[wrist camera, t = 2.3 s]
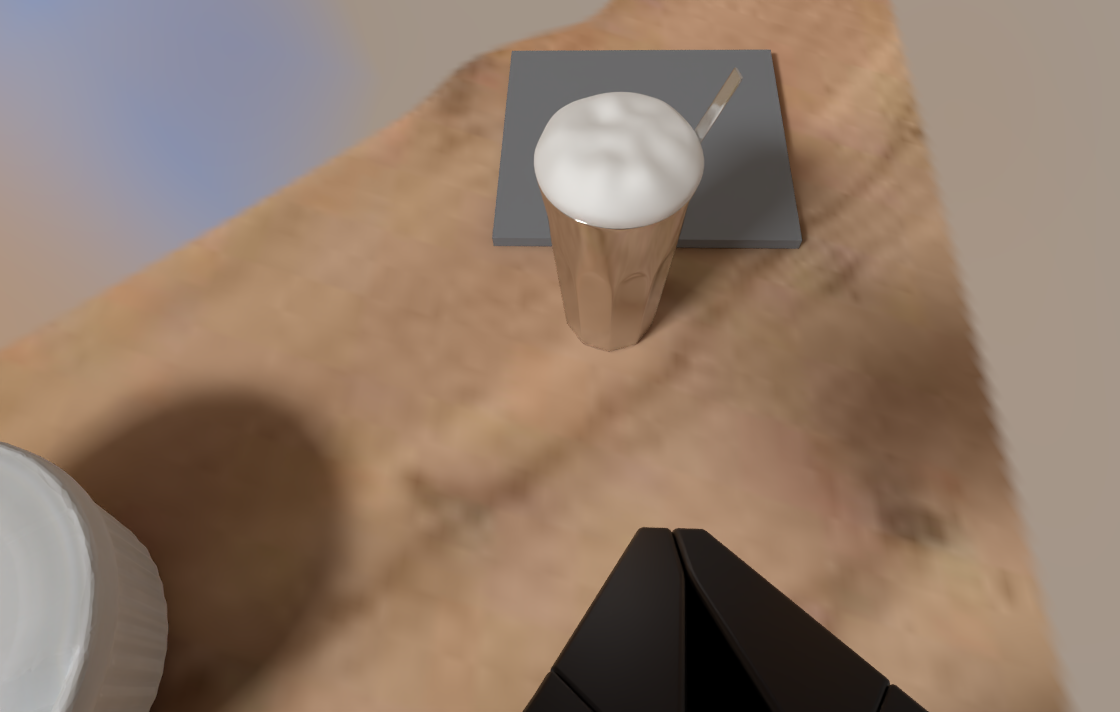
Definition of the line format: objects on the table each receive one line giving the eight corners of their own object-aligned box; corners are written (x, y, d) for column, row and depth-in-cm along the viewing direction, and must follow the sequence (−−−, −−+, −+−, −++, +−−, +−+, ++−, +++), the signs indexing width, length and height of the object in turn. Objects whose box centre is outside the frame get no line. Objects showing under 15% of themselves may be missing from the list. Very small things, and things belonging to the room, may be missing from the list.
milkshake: (709, 344, 24) (778, 136, 16) (567, 381, 24) (556, 188, 15) (666, 247, 27) (706, 16, 18) (535, 280, 26) (509, 58, 17)
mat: (798, 248, 26) (802, 240, 26) (494, 245, 27) (492, 237, 26) (767, 58, 31) (770, 49, 31) (512, 59, 32) (511, 50, 32)
